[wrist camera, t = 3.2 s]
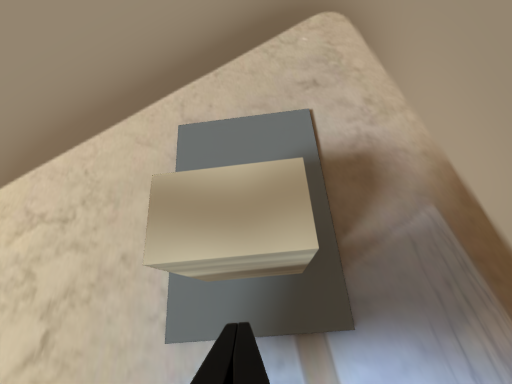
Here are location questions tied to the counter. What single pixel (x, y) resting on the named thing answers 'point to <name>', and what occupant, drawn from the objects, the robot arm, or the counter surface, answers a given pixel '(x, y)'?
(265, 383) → the robot arm
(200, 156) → the rubber mat
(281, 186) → the beige block
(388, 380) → the counter surface
